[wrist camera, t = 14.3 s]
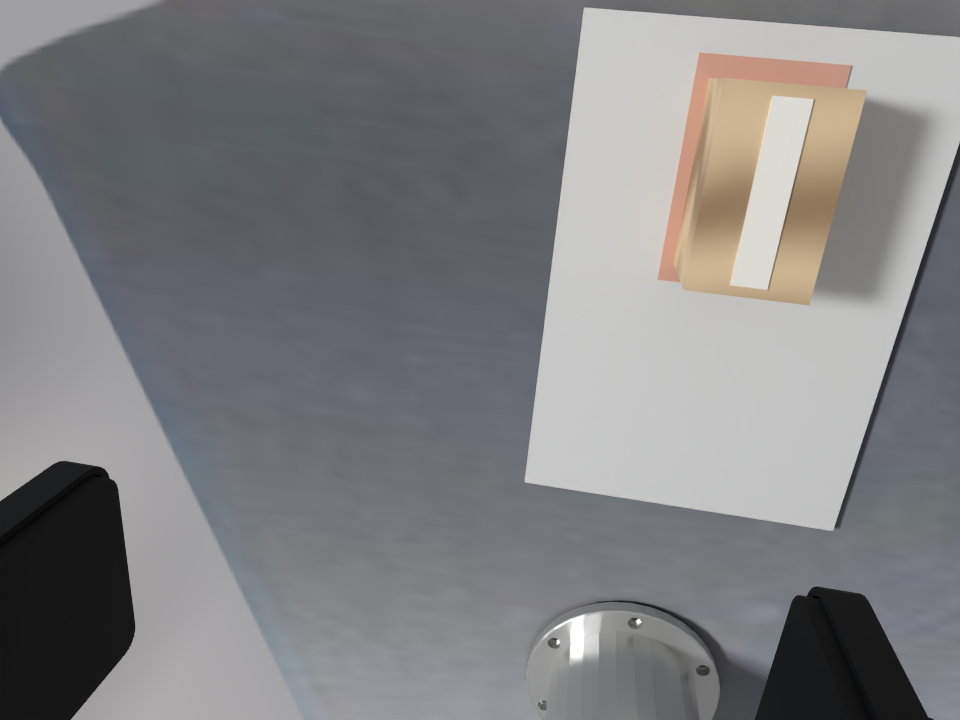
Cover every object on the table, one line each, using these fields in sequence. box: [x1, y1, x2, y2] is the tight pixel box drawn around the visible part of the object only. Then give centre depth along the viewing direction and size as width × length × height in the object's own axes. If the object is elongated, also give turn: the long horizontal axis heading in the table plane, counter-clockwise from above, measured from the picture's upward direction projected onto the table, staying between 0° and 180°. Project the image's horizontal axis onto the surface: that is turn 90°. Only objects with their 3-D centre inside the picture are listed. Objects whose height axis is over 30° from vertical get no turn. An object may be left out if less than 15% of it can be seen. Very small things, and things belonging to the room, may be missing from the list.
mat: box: [525, 8, 960, 531], centre depth 37 cm, size 26×18×1 cm
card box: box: [674, 78, 867, 305], centre depth 33 cm, size 9×6×5 cm, turn 175°
